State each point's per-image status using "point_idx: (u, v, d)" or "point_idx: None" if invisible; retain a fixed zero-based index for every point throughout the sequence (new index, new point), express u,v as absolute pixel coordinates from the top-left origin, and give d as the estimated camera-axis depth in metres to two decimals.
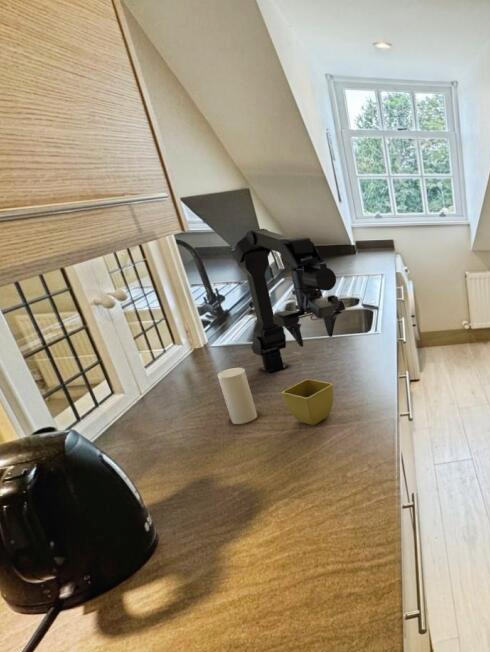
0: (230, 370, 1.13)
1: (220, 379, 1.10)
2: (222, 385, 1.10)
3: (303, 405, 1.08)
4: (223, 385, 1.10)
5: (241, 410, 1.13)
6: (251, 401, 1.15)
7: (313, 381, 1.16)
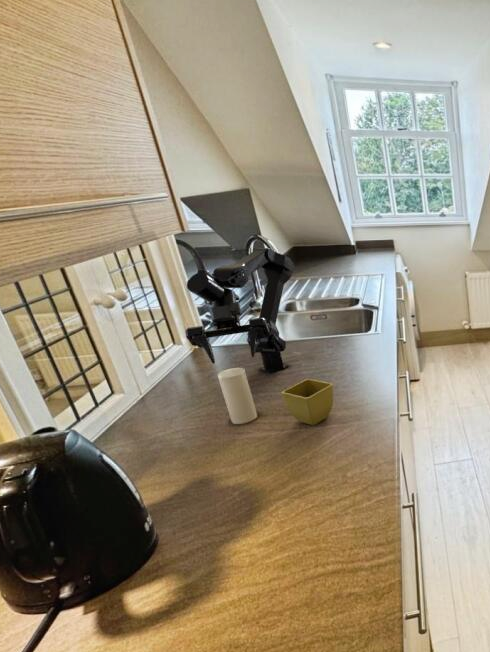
0: (230, 370, 1.13)
1: (220, 379, 1.10)
2: (222, 385, 1.10)
3: (303, 405, 1.08)
4: (223, 385, 1.10)
5: (241, 410, 1.13)
6: (251, 401, 1.15)
7: (313, 381, 1.16)
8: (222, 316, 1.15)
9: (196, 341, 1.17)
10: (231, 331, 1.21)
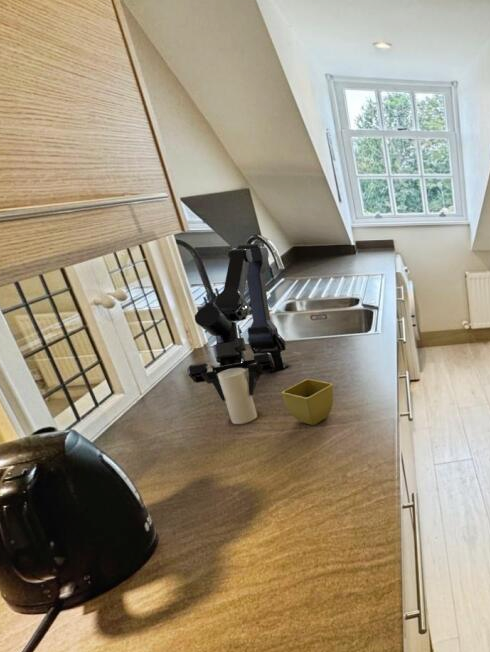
0: (231, 370, 1.13)
1: (220, 379, 1.10)
2: (222, 385, 1.10)
3: (303, 405, 1.08)
4: (223, 385, 1.10)
5: (241, 410, 1.13)
6: (251, 401, 1.15)
7: (313, 381, 1.16)
8: (226, 353, 1.10)
9: (205, 377, 1.12)
10: (229, 368, 1.15)
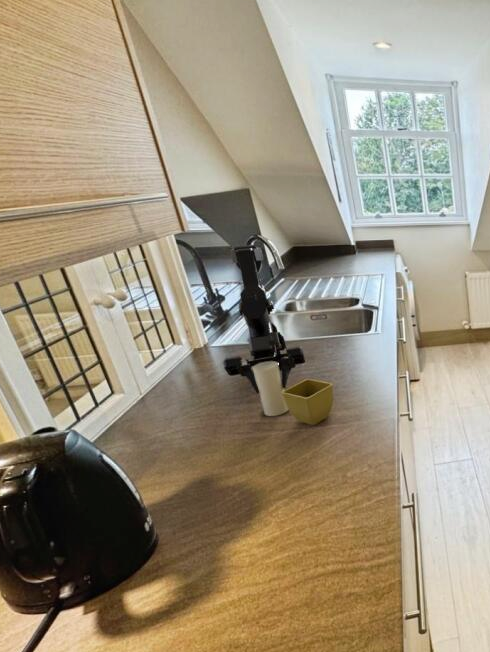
0: (264, 363, 1.16)
1: (255, 372, 1.13)
2: (257, 378, 1.14)
3: (303, 405, 1.08)
4: (257, 378, 1.14)
5: (274, 402, 1.17)
6: None
7: (313, 381, 1.16)
8: (261, 347, 1.13)
9: (240, 371, 1.16)
10: None
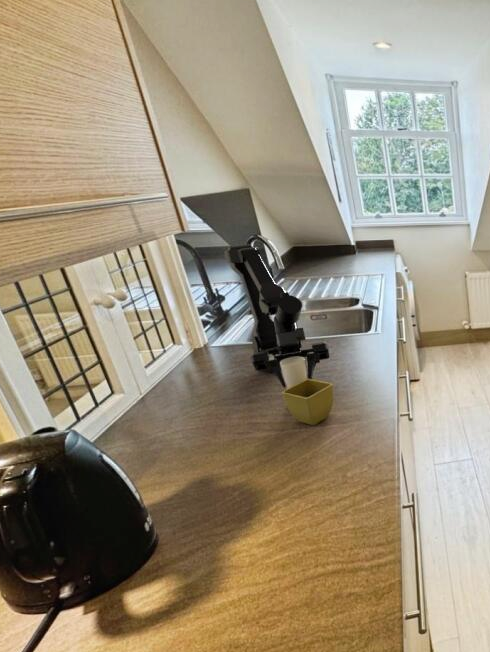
0: (291, 358, 1.19)
1: (283, 367, 1.15)
2: (284, 373, 1.16)
3: (303, 405, 1.08)
4: (285, 373, 1.16)
5: None
6: None
7: (313, 381, 1.16)
8: (288, 342, 1.15)
9: (267, 365, 1.18)
10: (288, 357, 1.21)
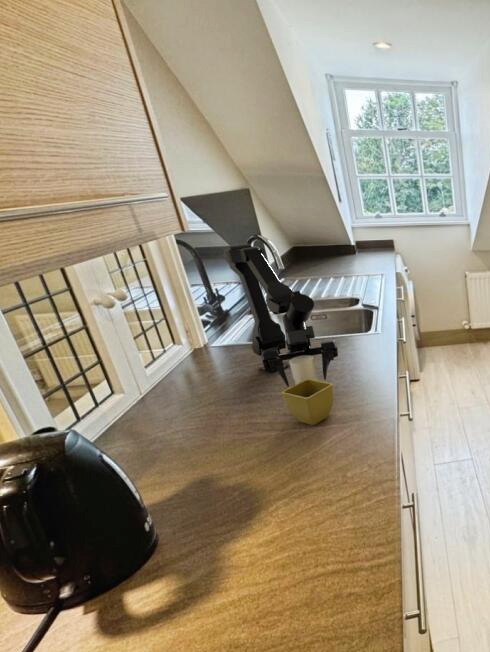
0: (300, 357, 1.20)
1: (292, 365, 1.16)
2: (294, 371, 1.17)
3: (303, 405, 1.08)
4: (294, 371, 1.17)
5: None
6: None
7: (313, 381, 1.16)
8: (298, 340, 1.16)
9: (271, 365, 1.18)
10: (303, 354, 1.22)
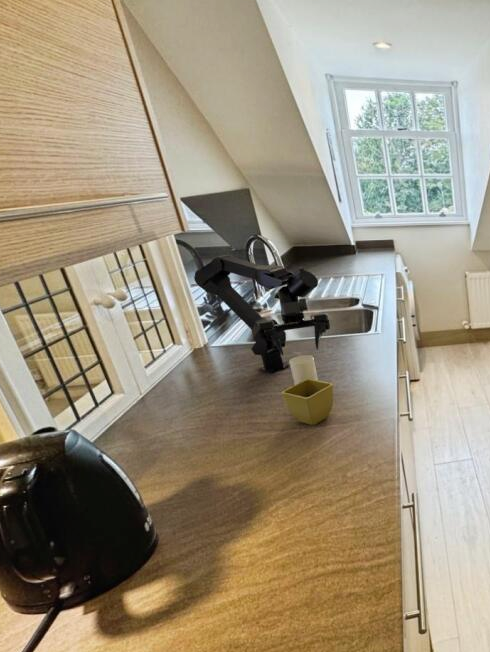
0: (300, 357, 1.20)
1: (292, 365, 1.16)
2: (294, 371, 1.17)
3: (303, 405, 1.08)
4: (294, 371, 1.17)
5: None
6: None
7: (313, 381, 1.16)
8: (292, 311, 1.25)
9: (267, 334, 1.27)
10: (297, 325, 1.31)
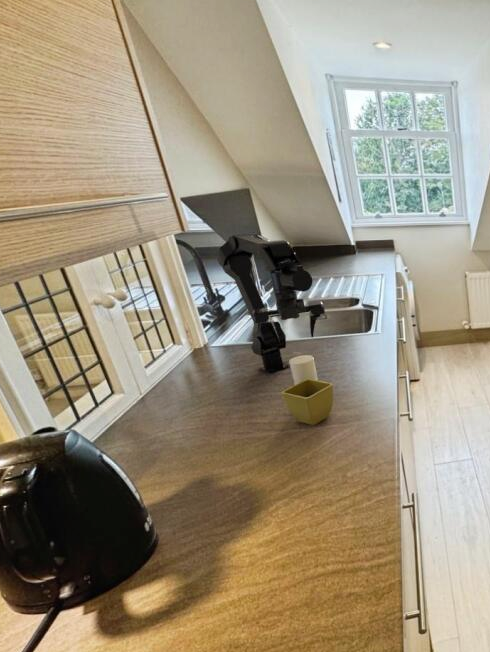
0: (300, 357, 1.20)
1: (292, 365, 1.16)
2: (294, 371, 1.17)
3: (303, 405, 1.08)
4: (294, 371, 1.17)
5: None
6: None
7: (313, 381, 1.16)
8: (291, 317, 1.24)
9: None
10: None
